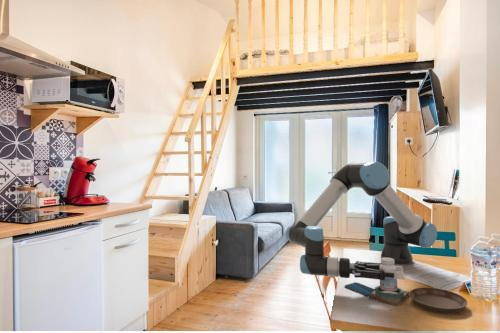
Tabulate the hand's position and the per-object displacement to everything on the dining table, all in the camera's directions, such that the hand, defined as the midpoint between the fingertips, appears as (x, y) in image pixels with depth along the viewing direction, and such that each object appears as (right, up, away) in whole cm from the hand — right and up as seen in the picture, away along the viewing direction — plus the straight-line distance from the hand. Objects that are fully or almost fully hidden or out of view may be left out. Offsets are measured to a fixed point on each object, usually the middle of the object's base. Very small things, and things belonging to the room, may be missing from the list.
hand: (403, 272), depth 119 cm
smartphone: (-11, -11, +8) cm, 18 cm away
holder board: (-4, -10, +2) cm, 11 cm away
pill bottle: (-5, -7, +2) cm, 8 cm away
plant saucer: (+9, -10, -6) cm, 15 cm away
